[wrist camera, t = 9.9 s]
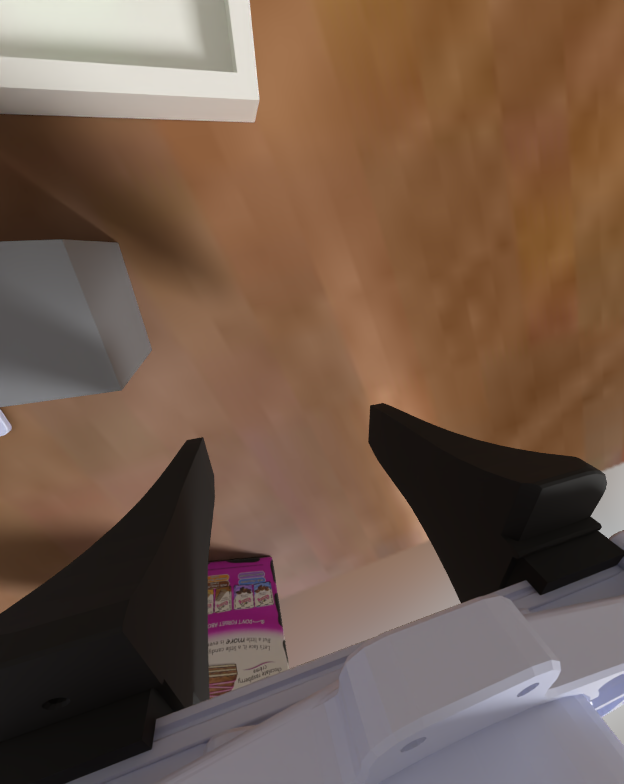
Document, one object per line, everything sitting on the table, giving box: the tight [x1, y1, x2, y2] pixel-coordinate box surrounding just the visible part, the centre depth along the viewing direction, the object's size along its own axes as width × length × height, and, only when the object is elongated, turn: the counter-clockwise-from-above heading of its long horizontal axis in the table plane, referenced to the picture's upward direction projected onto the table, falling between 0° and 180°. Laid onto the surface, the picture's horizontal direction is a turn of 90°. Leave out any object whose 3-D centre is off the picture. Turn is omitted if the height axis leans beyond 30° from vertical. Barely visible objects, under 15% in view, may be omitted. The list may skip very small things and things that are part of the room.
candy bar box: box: [208, 557, 289, 699], centre depth 22 cm, size 11×5×16 cm, turn 75°
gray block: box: [0, 239, 152, 407], centre depth 13 cm, size 6×6×6 cm
